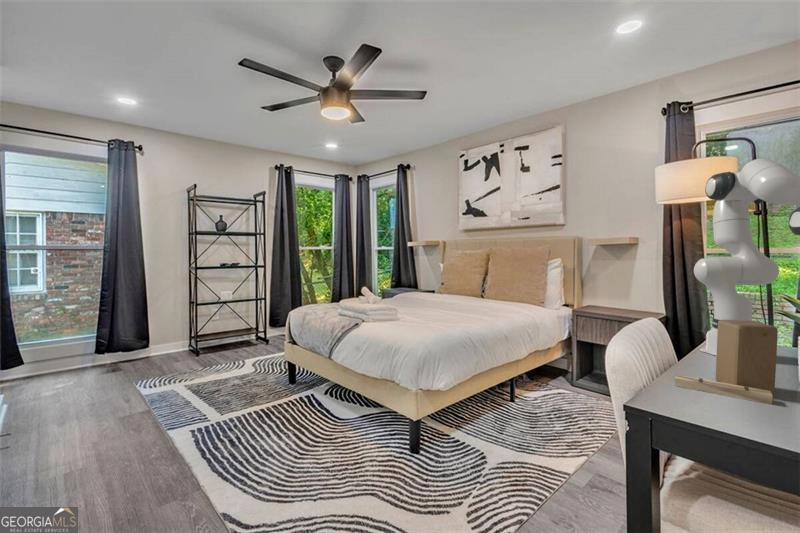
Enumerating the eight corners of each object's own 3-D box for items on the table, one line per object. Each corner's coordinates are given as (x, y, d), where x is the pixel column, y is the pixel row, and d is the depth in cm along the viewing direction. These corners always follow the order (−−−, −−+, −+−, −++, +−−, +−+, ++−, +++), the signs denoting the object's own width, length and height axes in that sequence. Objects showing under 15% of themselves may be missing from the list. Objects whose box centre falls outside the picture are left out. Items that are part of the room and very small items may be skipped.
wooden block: (776, 396, 105) (780, 326, 104) (735, 393, 107) (738, 325, 106) (750, 383, 114) (753, 320, 113) (713, 381, 116) (716, 318, 115)
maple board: (675, 382, 115) (676, 374, 115) (770, 399, 102) (770, 390, 102) (674, 385, 112) (675, 377, 112) (772, 404, 99) (772, 395, 99)
